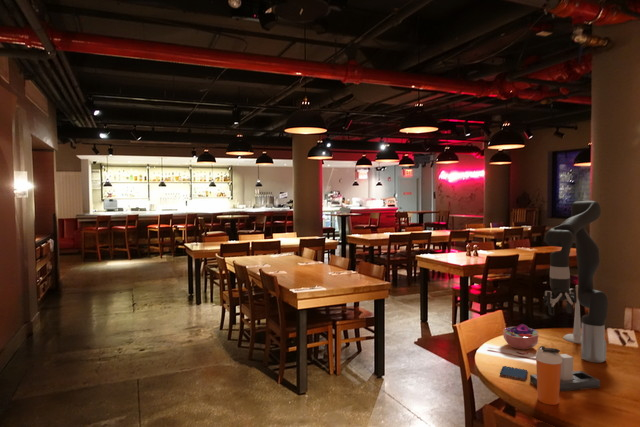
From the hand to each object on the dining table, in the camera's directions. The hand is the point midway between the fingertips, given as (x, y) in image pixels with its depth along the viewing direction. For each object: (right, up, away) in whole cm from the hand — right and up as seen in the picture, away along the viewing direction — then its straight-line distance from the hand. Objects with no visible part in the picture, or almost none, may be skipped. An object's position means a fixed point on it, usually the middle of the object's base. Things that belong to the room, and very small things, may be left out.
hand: (560, 313), depth 185 cm
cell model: (0, -26, +37) cm, 45 cm away
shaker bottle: (-16, -28, -21) cm, 39 cm away
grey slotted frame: (-2, -27, -7) cm, 29 cm away
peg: (-2, -27, -7) cm, 28 cm away
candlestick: (+36, -25, +48) cm, 65 cm away
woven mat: (-18, -28, +3) cm, 34 cm away
